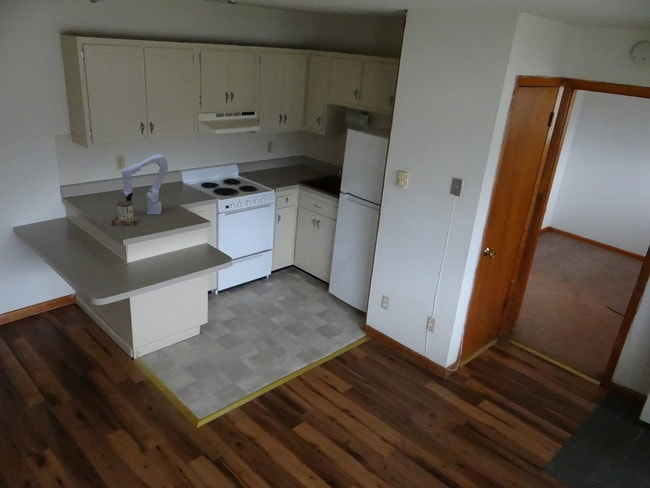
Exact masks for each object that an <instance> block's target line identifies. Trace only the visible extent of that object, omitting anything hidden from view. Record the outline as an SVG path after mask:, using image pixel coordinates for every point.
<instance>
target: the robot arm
mask: <svg viewBox="0 0 650 488" xmlns="http://www.w3.org/2000/svg"><path fill="white" fill-rule="evenodd" d="M151 164H154V165H155V164H157V165H158V167H159V169H158V172H157V175H156V176H155V179H154V181H153V184H152V186H151V188H150V189H149V190H148V191H147V193H146V198H147V213H146V214H147V215H161V213H162V211H163V210H162V209H163V208H162V201H159V195H160V194H159V193H160V188H161V187H162V183H163V181H164V179H165V177H166V175H167V172H168V160H167V158H166V157H165V156H164V155H162V154H161V153H156V154H153V155H151V156H150V157H148V158H147V159H145V160H143V161H141V162H139V163H138V162H136V163H135V162H134V163H132V164H131V165H129V166H126V167H124V168H122V169H121V171H120V173H121V175H122V185H123V190H122V191H121V192H122V193H123V197H124V198H125V201H131V202H132V199H133V198H132V197H133V194H134V191H133V182H132V176H133V175H134V174H136V173H137V172H140V171H141V170H142V168H144V167H146V166H149V165H151Z"/></svg>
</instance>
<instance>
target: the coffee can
mask: <svg viewBox="0 0 650 488" xmlns="http://www.w3.org/2000/svg"><path fill="white" fill-rule="evenodd" d="M116 205H117V208H116V209H117V216H118V220H135V215H134V206H133V205H134V202H133V201H132V200H131V201H127V200H122V201H121V200H120V201H117V203H116Z"/></svg>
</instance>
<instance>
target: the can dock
mask: <svg viewBox="0 0 650 488" xmlns="http://www.w3.org/2000/svg"><path fill="white" fill-rule="evenodd" d="M139 221H140V216H136V217H134V220H119V218H118V215H114V218H113V219H112V220H111V225H112V226H137V225H138V223H139Z"/></svg>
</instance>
